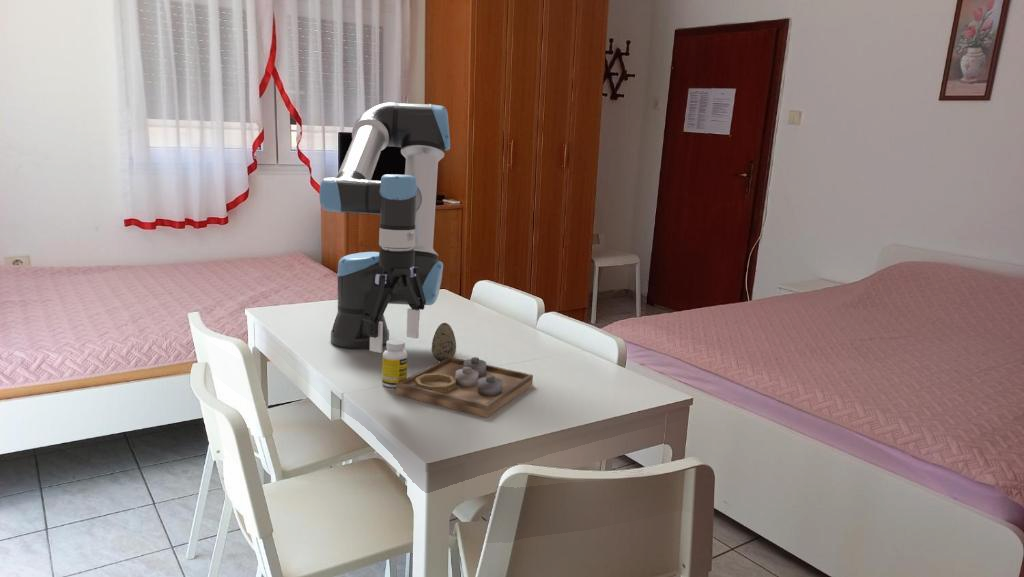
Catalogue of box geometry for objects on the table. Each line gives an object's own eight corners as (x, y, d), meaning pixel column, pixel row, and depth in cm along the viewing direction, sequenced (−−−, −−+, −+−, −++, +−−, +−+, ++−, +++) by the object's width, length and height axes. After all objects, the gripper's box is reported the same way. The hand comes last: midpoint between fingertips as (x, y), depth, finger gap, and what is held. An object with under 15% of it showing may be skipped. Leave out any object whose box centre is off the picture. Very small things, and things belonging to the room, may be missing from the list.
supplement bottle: (401, 389, 153) (402, 346, 151) (378, 386, 154) (378, 343, 152) (410, 381, 158) (411, 339, 156) (387, 378, 159) (388, 337, 157)
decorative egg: (460, 362, 173) (462, 323, 171) (445, 367, 168) (446, 327, 166) (441, 356, 176) (443, 318, 174) (426, 362, 172) (427, 322, 169)
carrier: (396, 394, 150) (396, 372, 149) (449, 366, 169) (450, 346, 168) (486, 417, 141) (487, 393, 140) (532, 385, 160) (533, 364, 159)
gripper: (375, 257, 137) (373, 361, 141) (443, 244, 159) (439, 334, 163) (344, 252, 140) (344, 354, 144) (415, 240, 162) (412, 329, 166)
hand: (394, 344), depth 154 cm, fingers open, 13 cm apart
